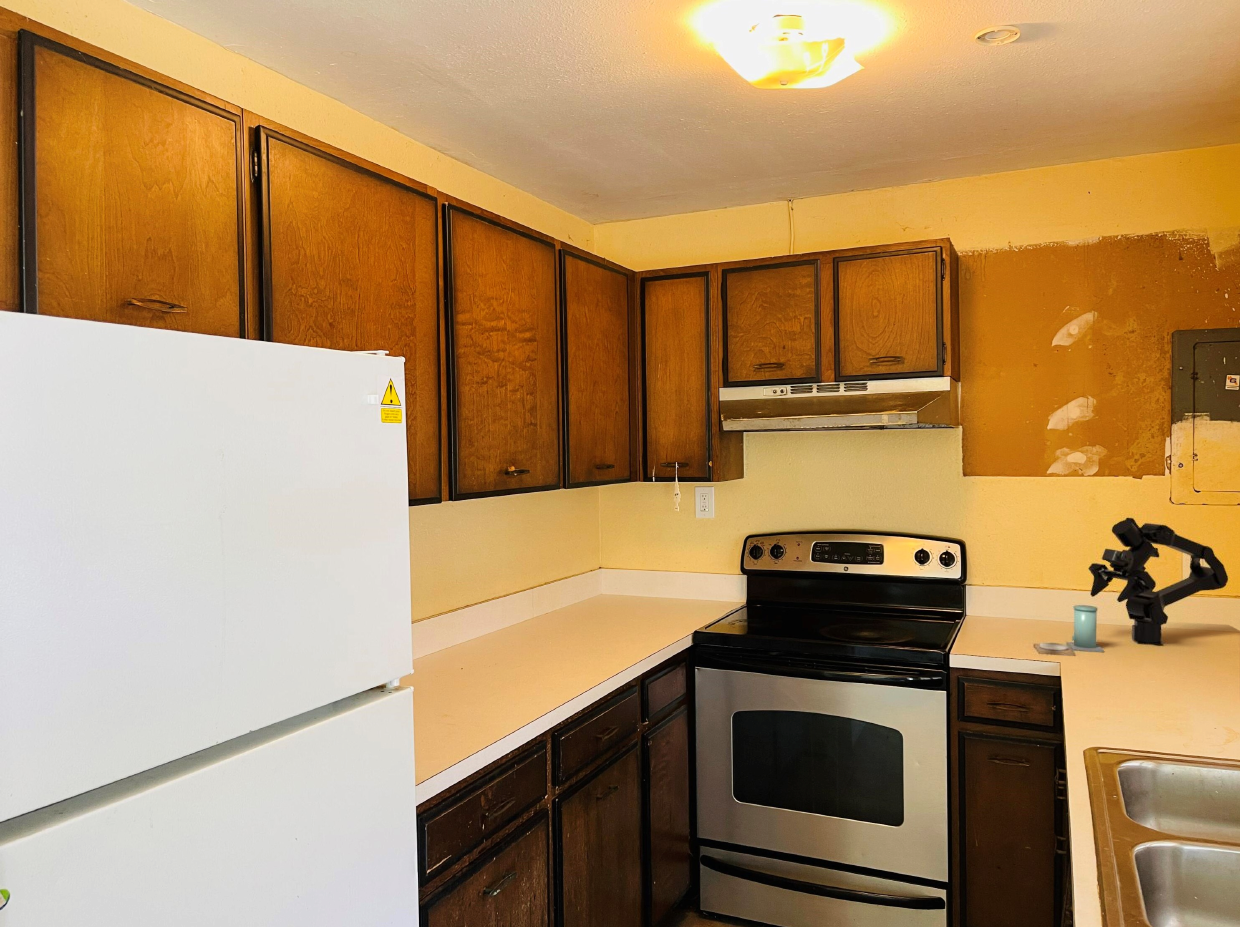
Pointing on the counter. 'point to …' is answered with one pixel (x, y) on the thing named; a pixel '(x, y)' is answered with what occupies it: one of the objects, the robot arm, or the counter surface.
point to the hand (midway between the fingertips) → (1104, 598)
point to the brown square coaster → (1054, 649)
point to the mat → (1074, 648)
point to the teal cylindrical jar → (1085, 626)
